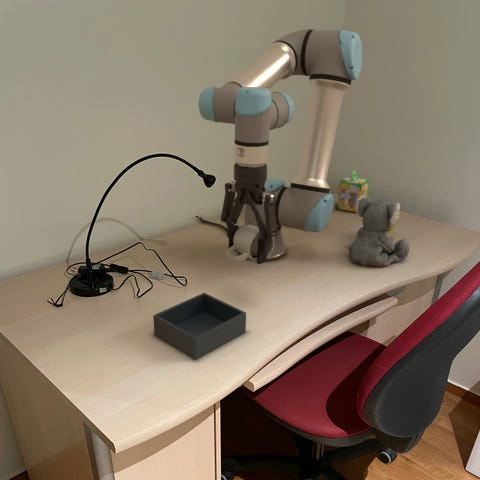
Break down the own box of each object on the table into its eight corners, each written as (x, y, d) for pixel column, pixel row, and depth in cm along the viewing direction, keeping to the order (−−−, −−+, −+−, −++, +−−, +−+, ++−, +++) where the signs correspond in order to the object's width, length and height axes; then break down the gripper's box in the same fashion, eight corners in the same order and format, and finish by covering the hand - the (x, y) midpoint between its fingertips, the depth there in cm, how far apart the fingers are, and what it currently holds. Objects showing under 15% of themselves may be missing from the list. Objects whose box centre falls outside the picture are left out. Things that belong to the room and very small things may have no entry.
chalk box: (357, 213, 203) (363, 175, 196) (336, 209, 207) (340, 172, 200) (365, 207, 210) (371, 170, 203) (344, 203, 214) (349, 167, 207)
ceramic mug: (253, 247, 133) (254, 218, 129) (274, 258, 127) (275, 228, 123) (219, 256, 127) (219, 227, 123) (239, 268, 122) (239, 238, 118)
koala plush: (411, 259, 166) (423, 199, 156) (379, 275, 155) (390, 212, 145) (365, 243, 177) (375, 186, 167) (333, 257, 166) (341, 197, 156)
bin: (154, 335, 123) (153, 315, 120) (204, 311, 133) (204, 292, 131) (195, 360, 115) (195, 339, 112) (245, 332, 125) (246, 312, 122)
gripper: (205, 157, 119) (205, 248, 131) (277, 176, 107) (270, 274, 118) (227, 152, 124) (226, 240, 136) (299, 169, 112) (291, 265, 123)
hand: (247, 256), depth 127 cm, fingers closed on ceramic mug, 9 cm apart
